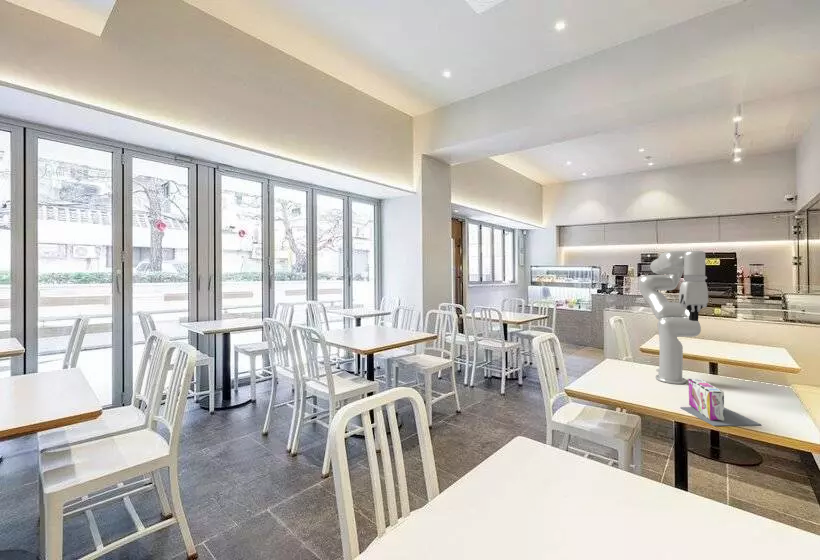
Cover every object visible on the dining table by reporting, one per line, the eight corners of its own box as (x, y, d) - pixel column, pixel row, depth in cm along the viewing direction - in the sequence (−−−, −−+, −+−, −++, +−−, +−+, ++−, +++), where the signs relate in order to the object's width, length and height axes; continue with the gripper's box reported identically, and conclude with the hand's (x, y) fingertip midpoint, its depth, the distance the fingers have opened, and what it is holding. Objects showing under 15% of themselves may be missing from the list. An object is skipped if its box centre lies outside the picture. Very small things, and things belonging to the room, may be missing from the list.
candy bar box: (687, 378, 156) (709, 390, 140) (701, 378, 154) (724, 391, 138) (687, 405, 156) (709, 420, 140) (701, 405, 155) (725, 421, 139)
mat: (680, 408, 153) (680, 407, 153) (722, 407, 153) (722, 406, 153) (714, 426, 136) (714, 425, 136) (761, 425, 136) (761, 424, 136)
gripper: (704, 278, 170) (703, 319, 171) (671, 279, 170) (670, 319, 171) (718, 279, 163) (717, 321, 163) (683, 279, 163) (682, 322, 163)
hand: (693, 320), depth 167 cm, fingers closed
